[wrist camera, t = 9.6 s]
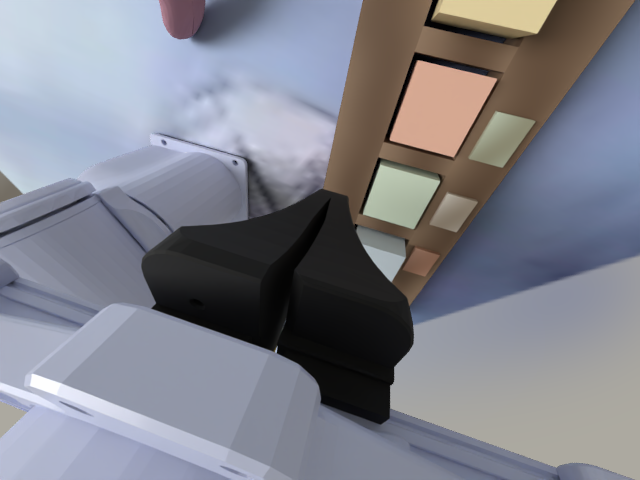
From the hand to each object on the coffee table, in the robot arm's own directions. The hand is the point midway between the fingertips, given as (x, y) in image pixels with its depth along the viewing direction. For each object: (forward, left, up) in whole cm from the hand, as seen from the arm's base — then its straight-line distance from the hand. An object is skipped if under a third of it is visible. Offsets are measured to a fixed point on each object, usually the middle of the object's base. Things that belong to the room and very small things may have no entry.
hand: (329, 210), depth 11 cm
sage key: (+4, -2, -9) cm, 10 cm away
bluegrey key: (+4, -7, -8) cm, 11 cm away
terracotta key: (+4, +4, -9) cm, 11 cm away
